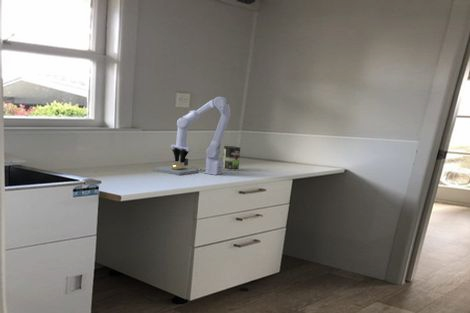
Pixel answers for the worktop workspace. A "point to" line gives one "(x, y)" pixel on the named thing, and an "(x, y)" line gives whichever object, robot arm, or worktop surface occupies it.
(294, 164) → the worktop surface
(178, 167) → the spiked mace toy
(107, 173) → the worktop surface
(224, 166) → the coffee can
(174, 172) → the grey board
